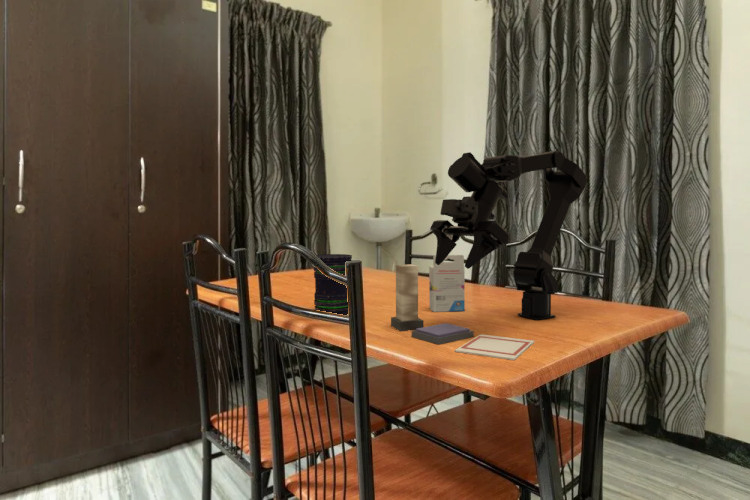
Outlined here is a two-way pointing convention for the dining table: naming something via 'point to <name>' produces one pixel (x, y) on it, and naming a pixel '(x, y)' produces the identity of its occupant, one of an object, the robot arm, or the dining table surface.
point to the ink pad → (442, 333)
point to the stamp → (406, 299)
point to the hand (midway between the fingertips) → (451, 265)
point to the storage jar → (331, 286)
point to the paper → (496, 346)
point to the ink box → (447, 285)
